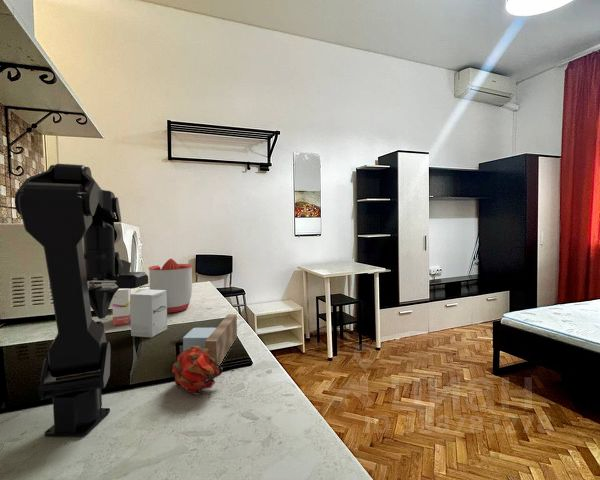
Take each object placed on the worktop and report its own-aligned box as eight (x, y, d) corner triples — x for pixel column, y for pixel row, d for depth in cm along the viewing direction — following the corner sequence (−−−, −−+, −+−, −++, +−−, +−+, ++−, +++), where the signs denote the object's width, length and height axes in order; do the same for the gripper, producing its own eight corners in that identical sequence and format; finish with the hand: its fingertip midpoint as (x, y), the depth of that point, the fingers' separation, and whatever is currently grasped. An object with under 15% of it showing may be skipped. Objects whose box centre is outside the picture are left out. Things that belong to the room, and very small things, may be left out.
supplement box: (152, 338, 87) (151, 295, 87) (130, 336, 89) (128, 294, 88) (168, 329, 95) (167, 289, 94) (147, 327, 96) (146, 288, 96)
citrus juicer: (183, 301, 129) (182, 255, 128) (199, 310, 116) (198, 258, 115) (143, 308, 119) (142, 257, 118) (156, 318, 106) (154, 261, 105)
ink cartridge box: (130, 323, 100) (128, 280, 99) (112, 326, 98) (111, 281, 97) (132, 316, 108) (130, 276, 107) (116, 318, 106) (114, 277, 105)
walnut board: (216, 372, 67) (216, 341, 67) (205, 372, 67) (205, 341, 67) (237, 338, 87) (236, 314, 87) (228, 338, 87) (228, 314, 87)
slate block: (212, 362, 72) (212, 337, 72) (183, 362, 72) (182, 337, 72) (220, 350, 79) (220, 327, 79) (194, 350, 79) (193, 327, 79)
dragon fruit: (185, 380, 66) (213, 412, 58) (153, 370, 61) (179, 403, 52) (208, 345, 69) (237, 370, 60) (179, 332, 63) (207, 358, 55)
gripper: (158, 246, 74) (160, 308, 75) (84, 246, 75) (86, 308, 75) (133, 249, 63) (135, 322, 64) (45, 250, 63) (49, 322, 64)
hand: (102, 318), depth 67 cm, fingers closed
